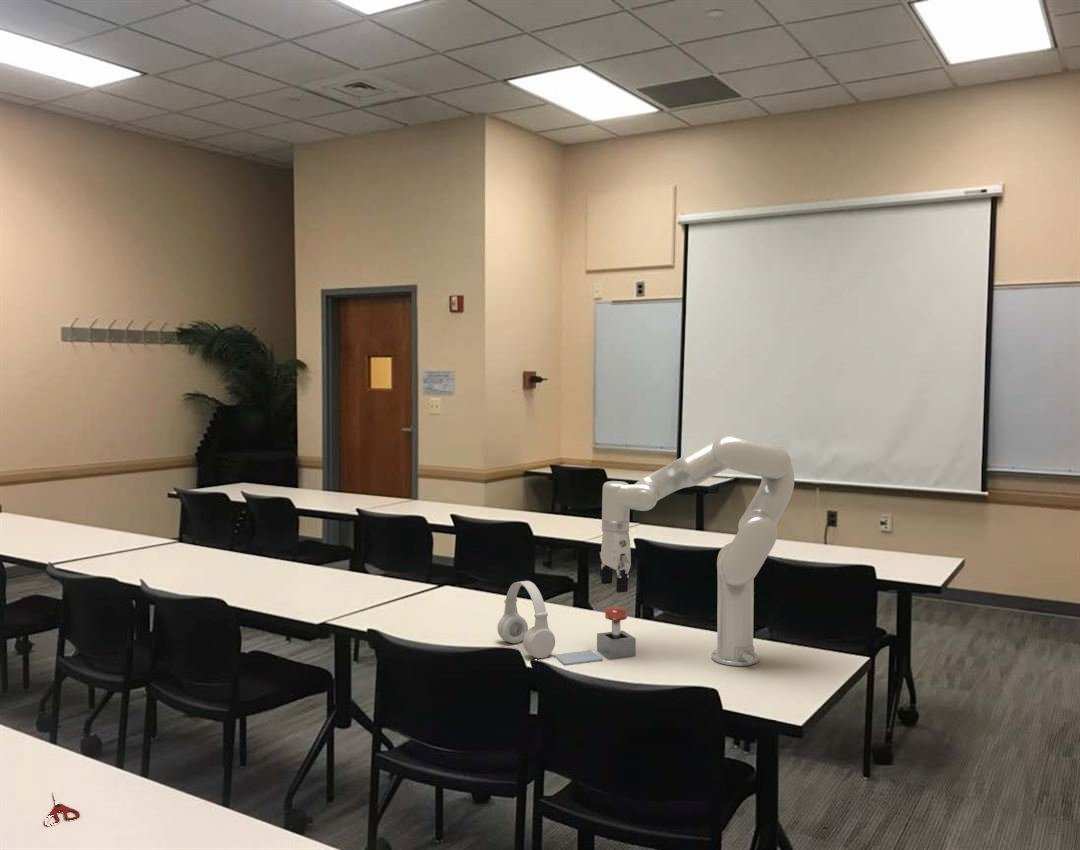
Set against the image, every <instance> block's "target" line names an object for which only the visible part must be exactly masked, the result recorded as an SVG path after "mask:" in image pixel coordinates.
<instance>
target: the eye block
mask: <svg viewBox="0 0 1080 850" xmlns="http://www.w3.org/2000/svg"><path fill="white" fill-rule="evenodd" d="M636 641H637V639H636V637H634V636H633V635H631V634H629V633H628V632H626V631H624V630H620V638H619V639H612V631H607V632H600V633H599V632H598V633H596V652H598V653H599V654H601V655H602V656H604V658H606V659H607V660H609V661H611V660H617V659H624V658H634V657H636V655H637V653H636V651H637V650H636V649H637V648H636V643H637V642H636Z"/></svg>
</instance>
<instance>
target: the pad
mask: <svg viewBox="0 0 1080 850" xmlns="http://www.w3.org/2000/svg"><path fill="white" fill-rule="evenodd" d="M553 657H554V658H555V657H556V658H557V659H558V660H557V659H556V658H555V659H556V660H557V661H558V662H560V663H561V665H563V666H572V665H579V664H587V663H592V662H593V663H594V662H602V661H603V658H602V657H601V656H599V655H598V654H597V653H596V652H594V651H592V650H591V649H590V650H581V651H574V652H573V651H572V652H565V653H558V654H553Z"/></svg>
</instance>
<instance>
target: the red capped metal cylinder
mask: <svg viewBox="0 0 1080 850" xmlns="http://www.w3.org/2000/svg"><path fill="white" fill-rule="evenodd" d="M604 613H605V614H604V618H605V619H606V620H609V621H611V632H612V639H619V638H620V631H621V621H624V620H626V619H628V608H627V607H625V606H619V605H614V606H613V605H611V606H606V607H605V608H604Z"/></svg>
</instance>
